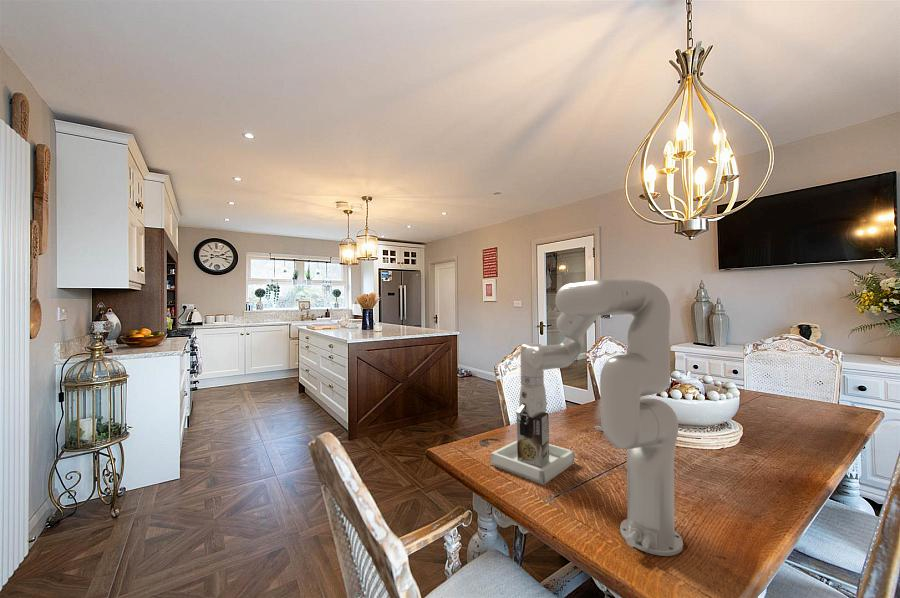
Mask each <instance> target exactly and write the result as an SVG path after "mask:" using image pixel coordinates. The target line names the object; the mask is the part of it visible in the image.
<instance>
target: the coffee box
mask: <svg viewBox="0 0 900 598" xmlns="http://www.w3.org/2000/svg"><path fill="white" fill-rule="evenodd" d="M525 414H526V413H525ZM524 419H525V420H526V417H524ZM528 424H529V436H528V437H526V436H523V435H520V423H519V420H518V417H517V416H516V433H517V434H516V441H517V455H518V460H517V461H520V462H523V463H526V464H530V465H534V466H538V467H542V468H543V467H544V466H545V465H546V464H547V463H548V462H549V444H550V443H549V442H550V435H549V433H550V431H549V430H550V428H549V412H545V413H542V414H540V415H538V416H536V417H534V418H531V417H530V419H529V421H528Z"/></svg>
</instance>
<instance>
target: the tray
mask: <svg viewBox="0 0 900 598" xmlns="http://www.w3.org/2000/svg"><path fill="white" fill-rule="evenodd" d="M517 460H518V455H517V440H515V441H513V442H511V443H508V444H507V445H504V446H503V447H501V448H499V449H496V450H494V451H493V452H490V466H492V465H493V466H492V467H495V466H496V467H495V468H497V467H498V468H497V469H500V470H502V469H503V470H502V471H505V470H506V472H508V471H509V472H508V473H510V472H511V473H510V474H513V473H514V474H513V475H515V474H516V475H515V476H517V477H521V478H523V477H524V479H526V480H528V479H529V481H531V482H534V483H537V484H538V485H542V486H544V485H545V484H547V483H548V482H550V481H551V480H552V479H554V478H556V477H557V476H559V474H561V473H563V472H564V471H565V470H567V469H568V468H569V467H571V466H572V465H574V464H575V451H574V450H572V449H568V448H565V447H562V446H557V445H554V444H551V443H549V462H548V463H547V464H546V465H545V466H544V467H543V468H542V467H538V466H534V465H530V464H526V463H523V462H520V461H517Z"/></svg>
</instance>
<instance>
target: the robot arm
mask: <svg viewBox="0 0 900 598" xmlns="http://www.w3.org/2000/svg"><path fill="white" fill-rule="evenodd" d="M555 306H556V309H557V310H558V311H559V313H560V315H559V316H558V317H557V318H556V327H557V330H559V332H560V333H561V334H562V335H563V336H564V337H565V338H564V339H563V340H562V341H561V343H559V344H548V345H547V344H546V345H541V344H540V343H533V342H528V343H522V345H521V346H520V391H519V408H518V409H517V411H515V413H516V418H517V417H518V420H519V423H520V435H523V436H526V437H528V436H529V424H528V421H529V419H530V417H531V418H534V417H536V416H538V415H540V414H542V413H547V405H548V402H547V395H546V387H545V383H544V379H545V378H544V376H545V375H544V374H545V373H544V371H547V370H552V369H553V370H555V369H563V368H566V367H569V366H571V364H573V363H574V362H575V361H576V360H577V359H578V357H579V356H580V355H581V354H582V352H583V349H584V344H585V338H584V335H585V334H586V332H587V331H588V330H589V329H590V328H591V326H592V325H593V324H594V322H595V321H596V320H597V319H598V317H600V316H616V315H617V316H622V315H623V316H624V315H632V316H633V319H632V321H631V323H630V324H629V328H628V330H627V349H626V350H627V352H626V353H623V354H617V355H614V356H612V357H610V358H608V360H606V362H605V363H604V364H603V366H602V368H601V371H600V375H599V376H600V377H599V378H600V379H599V380H600V381H599V383H600V384H599V385H600V386H599V390H600V394H599V396H600V424H601V427H602V429H603V431H602V432H603V434H604V436H605V438H606V439H607V441H608V443H610V444H611V446H613V447H615V448H618V449H620V450H627V454H626V496H627V497H626V505H627V508H626V510H627V511H626V515H627V516H626V517H627V518H626V519H624V520H622V521H621V523H620V525H619V527H620V528H619V532H620V535H621V536H622V538H623V539H624V540H625V543H626V544H627V545H628V546H629V547H631V548H636V549H637V550H640V551H642V552H644V553H647V554H650V555H655V556H661V557H672V556H675V555H679V554H680V553H681V552H682V551H683V549H684V542H683V539H682V536H681V535H680V534H679V532H677V531H676V530H675V452H676V444H677V440H678V435H679V420H678V417H677V415H676V413H675V411H674V409H673V408H672V406H670V405H669V404H668V403H667V402H665V401H663V400H661V399H657V398H641V397H646V396H652V395H656V394H657V395H658V394H660V393H662V392H664V391H665V390H667V389H668V387H669V386H670V381H671V354H670V353H671V351H670V349H671V345H670V344H671V343H670V324H671V323H670V322H671V304H670V301H669V298H668V296H667V295H666V293H665V292H664V291H663V289H661V288H660V287H658V286H657V285H655V284H653V283H652V282H649V281H646V280H642V279H641V280H639V279H625V278H624V279H618V278H617V279H611V278H607V279H605V278H603V279H592V280H586V281H577V282H569V283H565V284H564V285H563V286H561V287H560V288H559V290H558V291H557V292H556V296H555ZM525 413H526V414H525ZM524 417H526V420H525V419H524Z"/></svg>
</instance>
